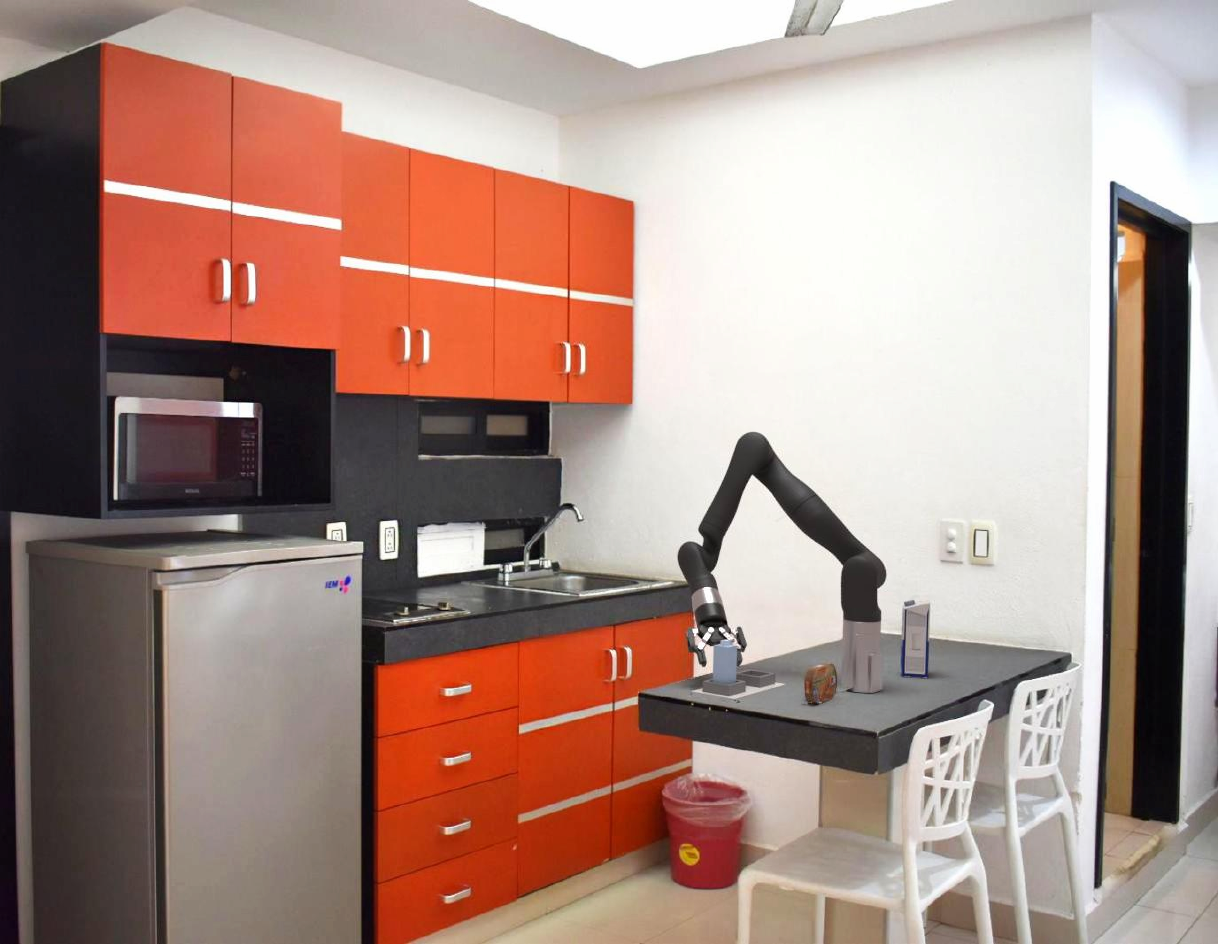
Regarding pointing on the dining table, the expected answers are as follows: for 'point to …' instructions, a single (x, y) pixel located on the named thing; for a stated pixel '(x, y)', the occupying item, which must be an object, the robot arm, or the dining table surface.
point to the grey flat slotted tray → (741, 685)
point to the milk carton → (915, 638)
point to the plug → (724, 663)
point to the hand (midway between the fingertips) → (721, 665)
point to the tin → (820, 683)
